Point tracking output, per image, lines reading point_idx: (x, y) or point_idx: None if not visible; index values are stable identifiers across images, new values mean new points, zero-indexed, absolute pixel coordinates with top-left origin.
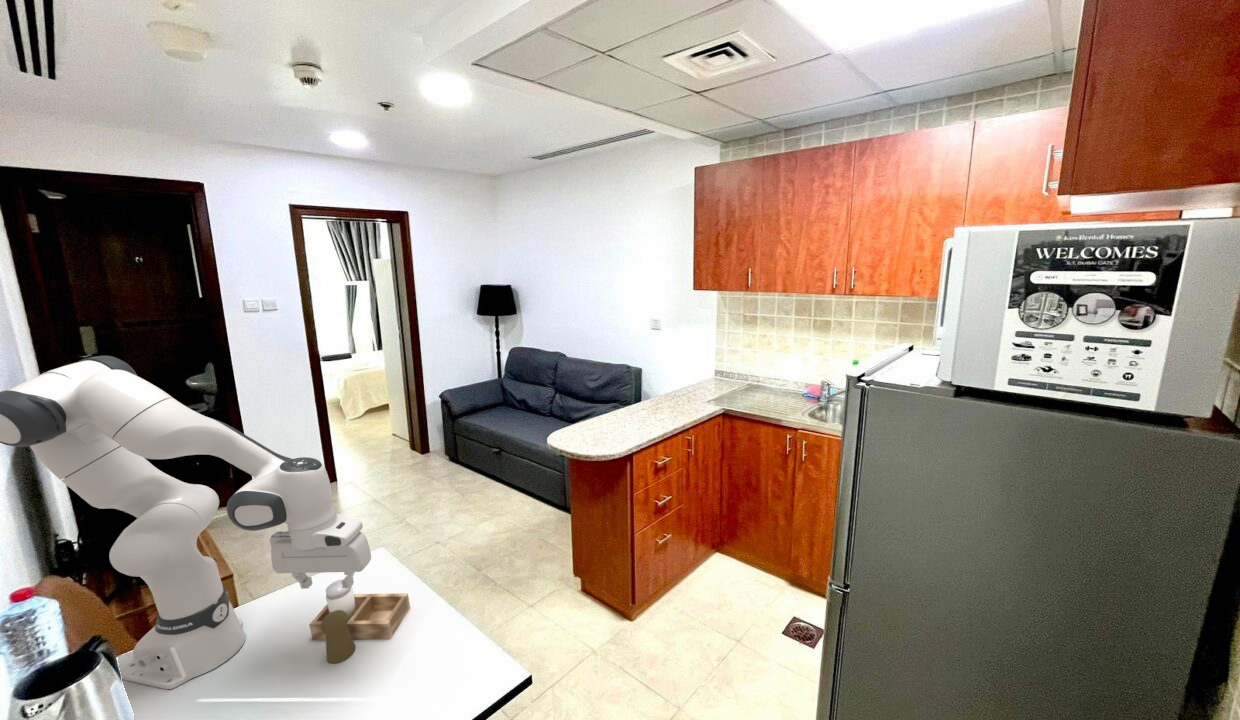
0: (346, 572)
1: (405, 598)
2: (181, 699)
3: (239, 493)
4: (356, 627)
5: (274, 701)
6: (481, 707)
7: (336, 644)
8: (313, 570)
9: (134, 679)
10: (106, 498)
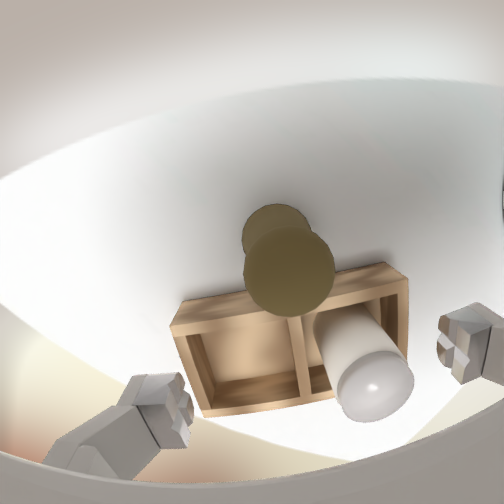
0: (69, 465)
1: (200, 405)
2: (498, 103)
3: None
4: None
5: (336, 98)
6: None
7: (262, 227)
8: (442, 462)
9: None
10: None
